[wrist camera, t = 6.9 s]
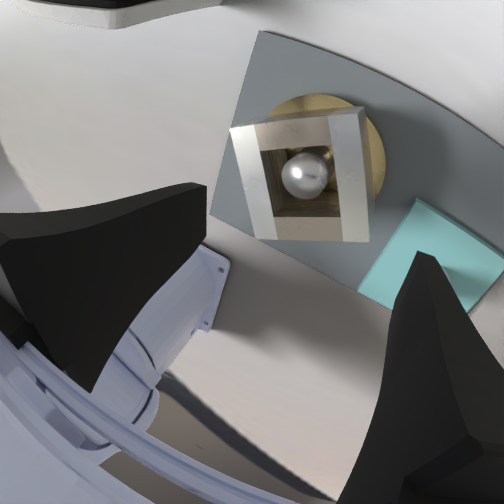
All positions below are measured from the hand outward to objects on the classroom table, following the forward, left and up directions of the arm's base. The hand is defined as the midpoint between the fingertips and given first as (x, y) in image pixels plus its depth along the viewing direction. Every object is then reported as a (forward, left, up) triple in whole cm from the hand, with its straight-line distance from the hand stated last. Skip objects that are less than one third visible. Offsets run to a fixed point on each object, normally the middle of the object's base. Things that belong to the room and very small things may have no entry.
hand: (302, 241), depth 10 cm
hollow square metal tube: (0, +1, -7) cm, 7 cm away
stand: (-3, -8, -8) cm, 11 cm away
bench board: (-1, -2, -8) cm, 9 cm away
